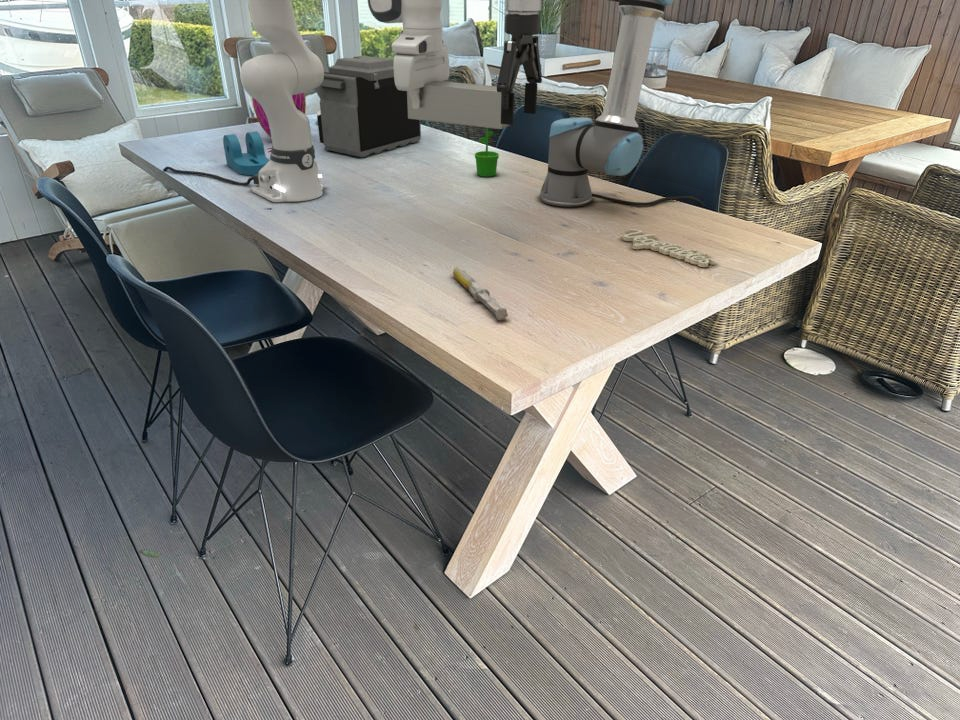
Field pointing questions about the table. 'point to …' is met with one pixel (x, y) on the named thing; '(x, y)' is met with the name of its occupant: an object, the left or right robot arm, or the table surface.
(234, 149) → the camera mount
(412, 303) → the table surface
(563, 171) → the right robot arm
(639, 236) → the decorative sign
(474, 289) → the syringe
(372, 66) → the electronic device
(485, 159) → the potted flower
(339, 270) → the table surface
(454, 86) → the bar
